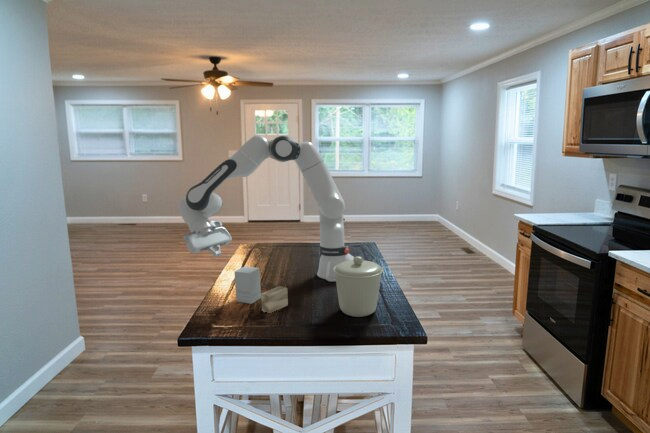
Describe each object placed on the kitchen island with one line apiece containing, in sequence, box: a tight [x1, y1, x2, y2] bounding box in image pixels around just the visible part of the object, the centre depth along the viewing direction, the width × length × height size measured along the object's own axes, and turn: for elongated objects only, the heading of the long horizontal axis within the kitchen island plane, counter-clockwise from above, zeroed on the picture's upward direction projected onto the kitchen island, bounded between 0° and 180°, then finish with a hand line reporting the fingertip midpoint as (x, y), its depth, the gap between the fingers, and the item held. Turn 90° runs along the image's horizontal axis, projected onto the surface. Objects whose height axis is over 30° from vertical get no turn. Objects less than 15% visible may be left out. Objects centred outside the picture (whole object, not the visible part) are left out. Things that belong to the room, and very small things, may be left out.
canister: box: [333, 255, 384, 318], centre depth 156 cm, size 18×18×21 cm
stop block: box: [260, 285, 289, 314], centre depth 161 cm, size 4×10×7 cm, turn 143°
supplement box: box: [234, 266, 262, 305], centre depth 169 cm, size 7×7×13 cm
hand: (218, 255), depth 178 cm, fingers closed
